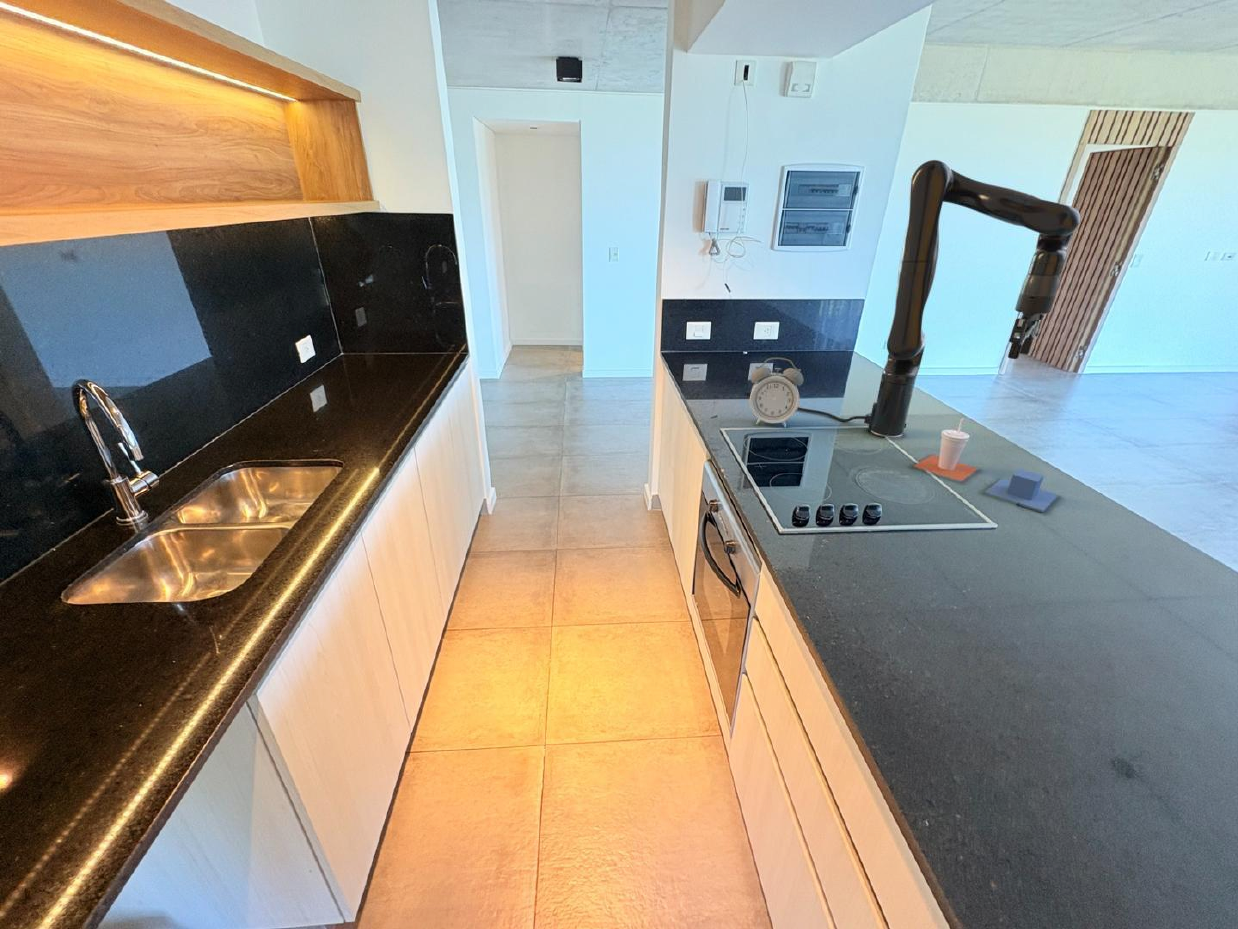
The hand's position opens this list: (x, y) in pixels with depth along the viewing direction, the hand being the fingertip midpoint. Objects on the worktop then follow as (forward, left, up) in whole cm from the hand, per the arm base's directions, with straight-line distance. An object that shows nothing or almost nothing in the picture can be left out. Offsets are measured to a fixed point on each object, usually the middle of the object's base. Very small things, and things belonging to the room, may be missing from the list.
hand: (1018, 355), depth 142 cm
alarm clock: (-55, -28, -28) cm, 68 cm away
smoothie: (-3, -22, -28) cm, 36 cm away
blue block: (+15, -24, -28) cm, 40 cm away
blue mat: (+15, -24, -28) cm, 40 cm away
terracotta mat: (-3, -22, -28) cm, 36 cm away
